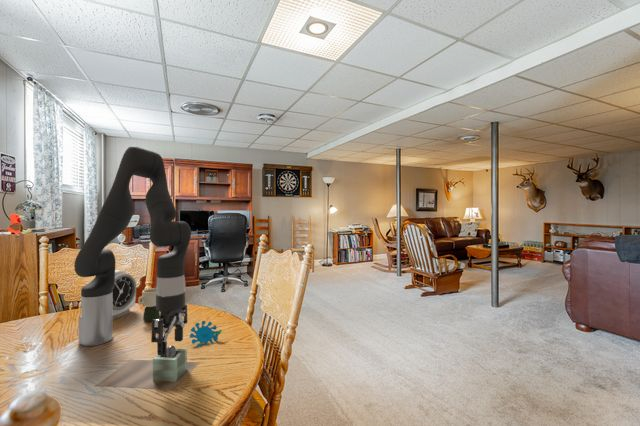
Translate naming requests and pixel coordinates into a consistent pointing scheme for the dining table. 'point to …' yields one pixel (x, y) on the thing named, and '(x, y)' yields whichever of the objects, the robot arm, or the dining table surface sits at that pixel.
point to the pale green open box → (170, 366)
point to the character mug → (149, 304)
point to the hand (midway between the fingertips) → (170, 347)
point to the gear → (204, 334)
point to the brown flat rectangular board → (142, 376)
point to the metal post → (171, 352)
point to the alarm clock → (123, 293)
